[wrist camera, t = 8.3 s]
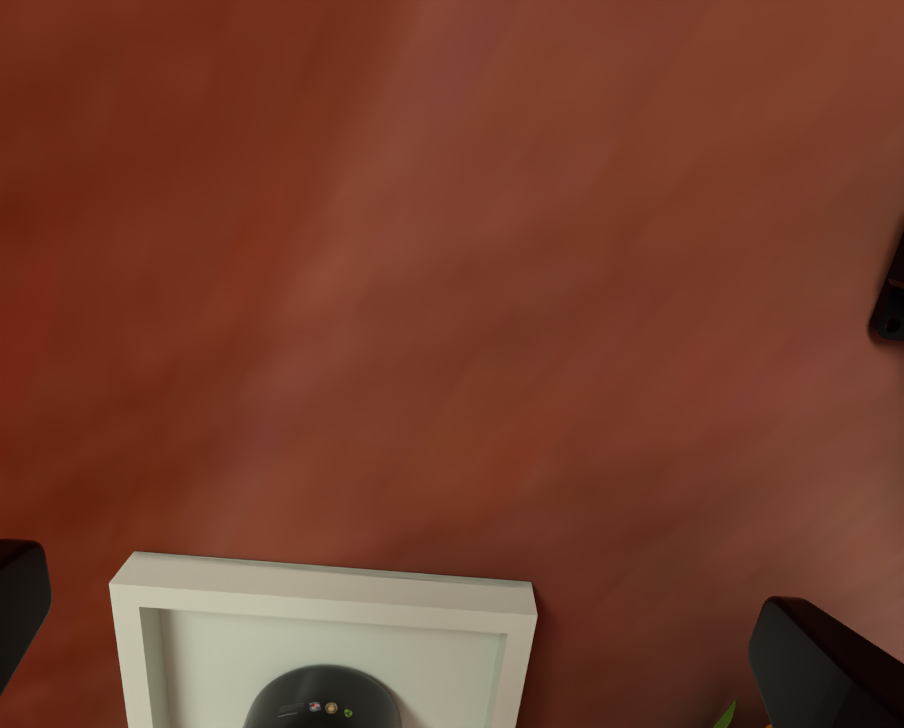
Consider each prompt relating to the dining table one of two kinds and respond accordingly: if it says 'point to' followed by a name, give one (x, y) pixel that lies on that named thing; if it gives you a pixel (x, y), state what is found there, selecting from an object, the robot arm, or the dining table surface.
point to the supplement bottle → (323, 701)
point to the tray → (316, 638)
